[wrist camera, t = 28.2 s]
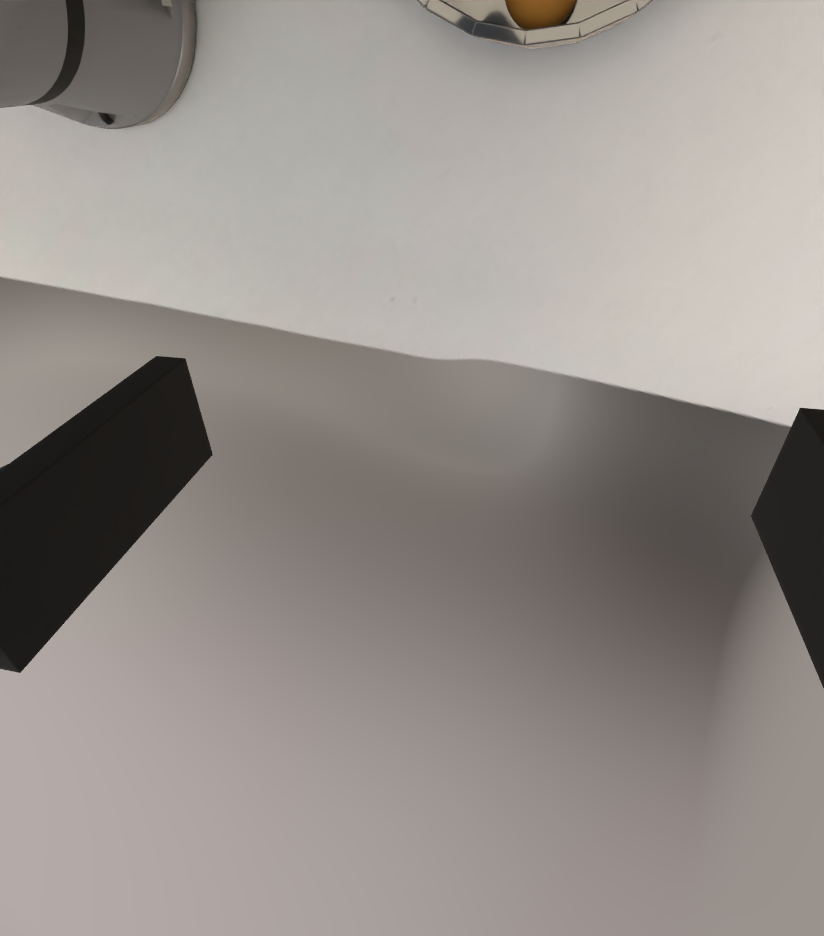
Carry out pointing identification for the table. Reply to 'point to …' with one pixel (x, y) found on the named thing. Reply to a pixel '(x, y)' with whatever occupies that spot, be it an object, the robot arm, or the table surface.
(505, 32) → the pot
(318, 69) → the table surface
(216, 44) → the table surface
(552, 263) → the table surface
